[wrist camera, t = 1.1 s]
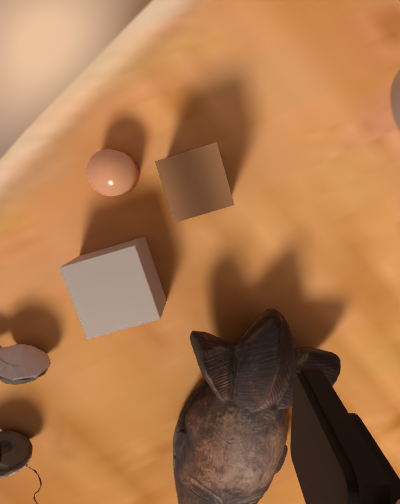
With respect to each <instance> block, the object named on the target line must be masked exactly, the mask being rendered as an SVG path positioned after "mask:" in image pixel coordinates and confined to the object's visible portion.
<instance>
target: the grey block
mask: <svg viewBox="0 0 400 504" xmlns="http://www.w3.org/2000/svg"><path fill="white" fill-rule="evenodd" d="M59 269H60V272H61V274H62V277H63V279H64V282H65V284H66V287H67V289H68V292H69V294H70V297H71V299H72V302H73V304H74V307H75V310H76V312H77V315H78V317H79V320H80V322H81V325H82V327H83V330H84V332H85V335H86V337H87V339H90V338H94V337H98V336H101V335H105V334H109V333H112V332H116V331H120V330H123V329H127V328H131V327H134V326H138V325H142V324H145V323H149V322H153V321H156V320H160V319H161V316H162V313H163V310H164V307H165V304H166V301H167V300H166V297H165V294H164V291H163V288H162V285H161V282H160V279H159V276H158V273H157V270H156V267H155V264H154V261H153V258H152V255H151V252H150V249H149V246H148V243H147V240H146V237H145V236H144V237H141V238H137V239H134V240H131V241H127V242H124V243H121V244H117V245H114V246H110V247H107V248H104V249H100V250H97V251H94V252H90V253H87V254H83V255H80V256H78V257H76V258H75V259H73V260H71V261H70V262H68V263H66V264H65V265H63V266H61V267H60V268H59Z"/></svg>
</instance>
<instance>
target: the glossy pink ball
mask: <svg viewBox="0 0 400 504" xmlns="http://www.w3.org/2000/svg"><path fill="white" fill-rule="evenodd" d="M87 177H88V180H89V182H90V184H91V186H92V187H93V188H94V189H95V190H96V191H97V192H99V193H100V194H103V195H106V196H116V195H121V194H126V193H128V192H130V191H131V190H132V189H133V188H134V187H135V186H136V184H137V182H138V179H139V169H138V166H137V164H136V162H135V160H134V159H133V158H132V157H131V156H129V155H128V154H126V153H123V152H120V151H117V150H113V149H104V150H100V151H98V152H97V153H95V154H94V155H93V156H92V157H91V159H90V160H89V162H88V166H87Z"/></svg>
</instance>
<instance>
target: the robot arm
mask: <svg viewBox="0 0 400 504" xmlns="http://www.w3.org/2000/svg"><path fill="white" fill-rule="evenodd" d="M291 457H292V461H293V464H294V468H295V471H296V474H297V477H298V480H299V483H300V486H301V490H302V493H303V496H304V499H305V502H306V504H400V479H399V477H398V476H397V474H396V473H395V471H394V470H393V468H392V466H391V465H390V463H389V462H388V460H387V459H386V457H385V456H384V454H383V453H382V451H381V449H380V448H379V446H378V445H377V443H376V442H375V440H374V439H373V437H372V436H371V434H370V432H369V431H368V429H367V428H366V426H365V425H364V423H363V422H362V420H361V419H360V417H359V416H358V415H357V414H355V413H348V412H347V410H346V408H345V407H344V405H343V403H342V402H341V400H340V399H339V397H338V395H337V394H336V392H335V390H334V389H333V387H332V385H331V384H330V382H329V381H328V379H327V377H326V376H325V374H324V372H323V371H322V369H321V368H319V367H315V368H301V369H300V373H294V380H293V402H292V424H291ZM1 458H2V450H1V445H0V462H1Z"/></svg>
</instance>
